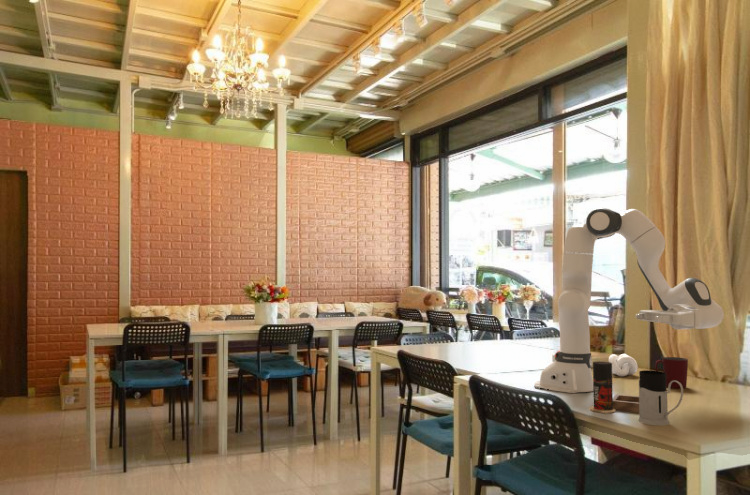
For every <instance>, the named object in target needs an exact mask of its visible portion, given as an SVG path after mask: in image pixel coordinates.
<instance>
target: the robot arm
mask: <svg viewBox="0 0 750 495" xmlns="http://www.w3.org/2000/svg"><path fill="white" fill-rule="evenodd" d="M615 234H619V235H621V236H622V237H623V238H624V239H625V240H626V241H627V242H628V244H629V245H630V246H631V248H632V249H633V250H634V252H635V253H634V254H636V257H637V261H636V262H637V266H638V268H639V270H640V272H641V273H642V275H643V277H644V278H645V281H646V282H647V283H648V285H649V287H650V288H651V290H652V292H653V293H654V296H656V299H657V302H658V304H659V306H660V308H661V310H660V309H657V310H656V309H643V310H642V309H641V310H639V312H638V313H636V314H635V319H637V320H639V321H643V322H644V321H646V322H653V323H660V324H661V323H662V324H666V325H667V324H668V325H670V327H671V328H673V329H675V330H692V329H698V330H699V329H711V328H715V327H718V326H719V325H720V324H722V322H723V321H724V316H725V314H724V313H725V312H724V309H723V307H721V305H719V304H718V303H716V301H714V300H713V298H712V296H711V294H710V290H709V288H708V286H707V284H706V283H704V281H703V280H701V279H698V278H696V277H688V278H686V279H685V280H683V281H681V282H679V284H677V285H675V286H674V287H673V288H672V287H671V286H670V285H669V283H668V281H667V280H666V279H665V277H664V275H663V273H662V271H661V270H660V268H659V265H660V264H659V263H660V259H661V257H662V254H663V253H664V251H665V247H666V239H665V236H664V234H663V233H662V232H661V230H660V229H659V228H658V227H657V226H656V225H655V223H654V222H653V221H652V220H651V219H650V218H648V217H647V216H646V215H645V214H644V213H643V212H642V211H640V210H639V209H636V208H630V209H627V210H625V211H624V212H622V213H620V212H617V211H614V210H612V209H610V208H605V207H597V208H594V209H592V210H591V211H590V212H589V213H588V215H587V217H586V220H585V223H584V224H576V225H572V226H570V227H569V228H568V230H567V233H566V236H565V239H564V245H563V254H562V256H563V257H562V265H561V266H562V267H561V276H562V277H561V278H562V279H561V281H562V282H561V285H562V286H561V288H562V289H561V293H560V295H559V296H558V298H557V314H558V315H557V316H558V326H559V350H557V351H556V352H555V353H554V359H555V361H553V362H552V363H550V364H549V365H548V366H546V367H545V368H543V369H542V371H541V374H540V379H539V380H538V381H536V382H535V383H534V385H535V387H539V388H538V389H540V388H545V389H544V390H547V389H549V391H554V392H562V393H569V394H570V393H571V394H575V393H586V392H587V393H588V392H593V373H592V369H591V368H592V367H593V360H592V357H593V356H592V353H591V339H590V337H591V336H590V335H591V332H590V322H589V308H590V307H591V301H592V299H591V298H592V278H593V277H592V275H593V265H594V264H593V262H594V259H593V258H594V248H595V243H596V241H597V240H601V239H605V238H610V237H613V236H614V235H615ZM535 387H534V388H535Z"/></svg>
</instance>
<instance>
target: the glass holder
mask: <svg viewBox="0 0 750 495" xmlns="http://www.w3.org/2000/svg"><path fill="white" fill-rule="evenodd" d="M638 375H639V379H638V396H639V413H638V415H639V416H638V419H637V422H640V423H641V424H644V423H645V425H650V426H668V425H670V421H669V418H668V415H669V414H671V413H672V412H673V411H674V410H676V409H677V408H678V407H679V406H680V404H681V403H682V400H683V397H684V388H683V387H682V384H681V383H680V382H678V381H671V382H670V383H669V385H668V387H666V373H665V372H664V371H661V370H658V371H656V370H651V369H650V370H648V369H647V370H646V369H645V370H639V371H638ZM672 382H677V383H678V384H679V385H680V387H681V389H680V397H679V399H678V400H679V401H678V402H677V404H676V405H675V406H674V407H673V408H672V409H670V410H669V411H668V394H670V393H671V388H670V387H671V384H672Z"/></svg>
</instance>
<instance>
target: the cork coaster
mask: <svg viewBox="0 0 750 495" xmlns="http://www.w3.org/2000/svg"><path fill="white" fill-rule="evenodd" d="M589 411H591V412H593V413H598V414H614V413H616V410H615V408H613V410H609V411H603V410H597V409H594V405H590V406H589Z"/></svg>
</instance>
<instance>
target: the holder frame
mask: <svg viewBox="0 0 750 495" xmlns="http://www.w3.org/2000/svg"><path fill="white" fill-rule="evenodd" d="M613 408H615V411H618V412H619V411H620V412H629V413H638V414H639V395H638V396H637V395H629V394H628V395H627V394H618V393H616V394H615V395H613Z"/></svg>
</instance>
